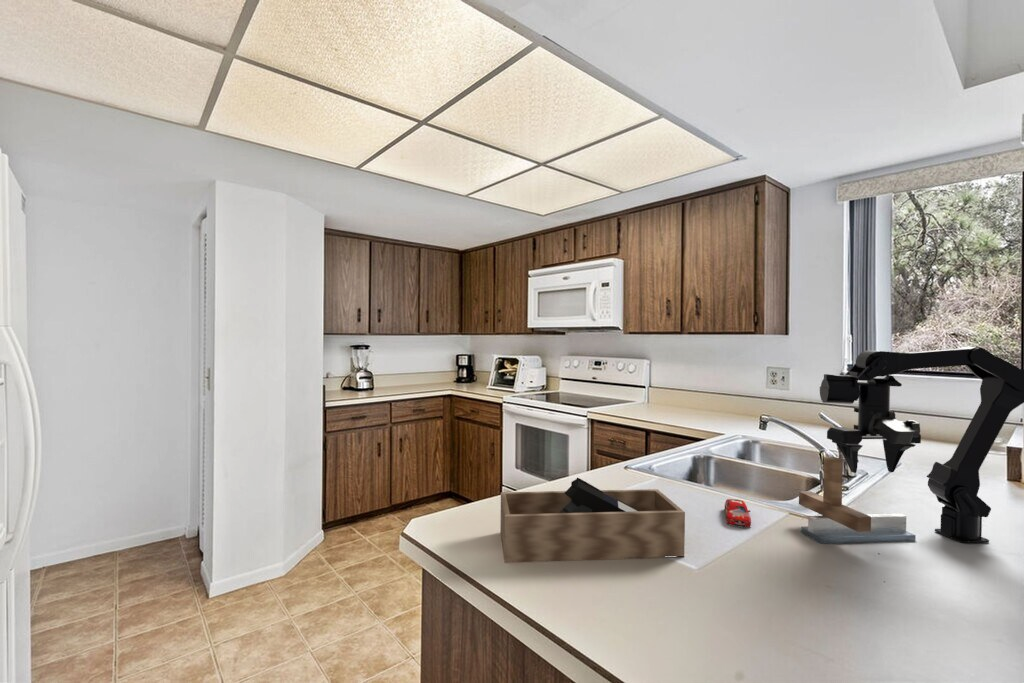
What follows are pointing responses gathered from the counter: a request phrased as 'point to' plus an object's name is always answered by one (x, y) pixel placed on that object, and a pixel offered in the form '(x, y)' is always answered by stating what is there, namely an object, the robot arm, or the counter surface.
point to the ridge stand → (881, 531)
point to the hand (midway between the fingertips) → (872, 472)
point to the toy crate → (589, 528)
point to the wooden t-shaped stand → (834, 499)
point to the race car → (737, 513)
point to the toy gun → (592, 500)
